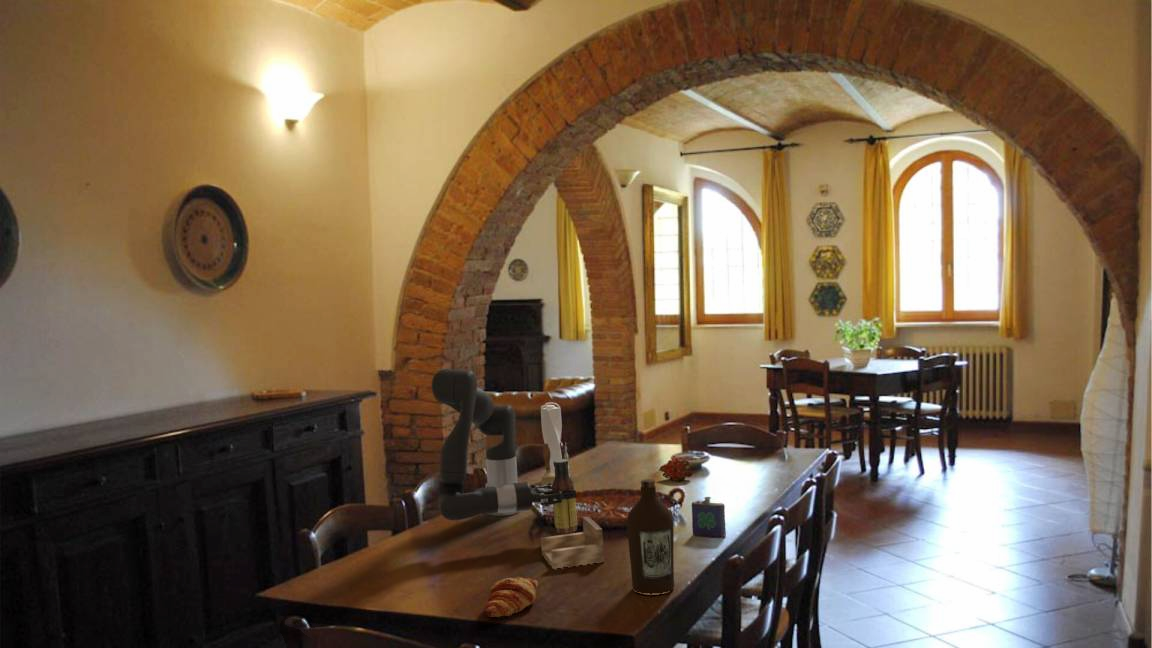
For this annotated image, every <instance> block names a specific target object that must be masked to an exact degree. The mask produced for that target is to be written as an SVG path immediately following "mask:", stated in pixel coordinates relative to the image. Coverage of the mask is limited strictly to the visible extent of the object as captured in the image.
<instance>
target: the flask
mask: <svg viewBox="0 0 1152 648" xmlns="http://www.w3.org/2000/svg"><path fill="white" fill-rule="evenodd" d="M711 498H712V497H711V496H705V497H704V500H699V499H698V500H697V501H693V502H691V514H692V515H691V520H692V521H691V523H692V525H691V526H692V528H691V529H692V536H694V537H699V538H700V537H701V538H711V539H712V538H714V539H715V538H716V539H724V538H726V537H727V536H726V535H727V531H726V515H725V510H726V508H725V507H726V506H725V504H724V503H723V502H722V503H721V502H719V503H718V502H717V503H715V502H711V501H710V499H711Z"/></svg>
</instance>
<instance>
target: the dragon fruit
mask: <svg viewBox="0 0 1152 648" xmlns="http://www.w3.org/2000/svg"><path fill="white" fill-rule="evenodd" d="M658 471H659V472H662V477H664V478H665V479H668V480H671V481H673V482H676V481H677V482H678V480H679V481H681V482H684V481H686V478H691V477H692V476H693V473H692V472H693V471H694V467H693V466H692V464H691V463H690V461H689V460H686V459H685V458H683V457H682V456H679V458H677V457H671V458H670V459H669V460H668V461H667V463H664V464H662V465H661V466H660V467H659V469H658Z"/></svg>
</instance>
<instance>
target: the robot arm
mask: <svg viewBox="0 0 1152 648" xmlns="http://www.w3.org/2000/svg"><path fill="white" fill-rule="evenodd" d="M431 390H432V394H433V397H434V399H435V400H436V401H437V402H438V403H439V404H443V405H445V406H448V407H450V408H451V409H453V410H455V411H456V412H458V413H459V416H458V420H457V421H456V423H455V425H454V427H453V429H452V430H451V431H450V433H449V434H448V436H447V438H446V439H445V441H444V442H443V444H442V447H441V451H440V461H439V462H440V463H439V466H440V467H439V483H438V489H437V490H438V491H437V507H438V510H439V512H440V514H441V515H442V517H443V518H444V519H446V520H448V521H461V520H465V519H469V518H473V517H476V516H480V515H491V516H497V517H499V516H500V517H502V516H506V517H507V516H512V515H516V514H518V513H519V512H522V511H523V512H524V511H530V510H532V508H533V503H538V504H540V506H548V505H553V504H555V503H561V502H562V500H563V499H572V498H575V499H576V498H577V491H576V490H575V489H574V490H566V491H554V489H552V483H548V484H541V483H540V484H539V483H537V484H531V483H529V482H527V481H523V482H522V481H521V482H518V480H519V479H518V466H517V450H516V449H517V441H516V440H517V438H516V436H517V435H516V413H515V412H516V411H515V409H514V407H513V406H512V405H509V404H501V405H500V404H498V405H497V404H496V405H495V404H494V401H493V398H492V397H491V395H490V394H489V393H487V392H486V391H485V390H483V389H482V388H481V387H478V380H477V376H476V374H475V372H473V370H468V369H457V368H456V369H454V368H453V369H452V368H444V369H443V368H442V369H440V370H438V371H437V372H435V374H434V375H433V377H432V380H431ZM472 424H474V425H475V427H477V429H478V430H479V431H480V433H482V434H483V435H485V436H493V437H494V436H496V437H498V436H502V441H500V442H499V443H497V444H495V445H492V446H489V447H488V448H487V449H486V450H485V458H486V459H485V460H486V474H487V476H486V477H487V482H486V483H485V487H479V488H477V489H475V490H474V491H471V492H465V493H464V487H465V486H464V485H465V484H464V483H465V480H466V477H467V469H468V468H467V463H468V448H469V439H470V435H471V434H470V433H471V429H472ZM530 484H531V485H530ZM554 496H557V498H555V497H554Z"/></svg>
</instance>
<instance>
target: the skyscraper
mask: <svg viewBox="0 0 1152 648" xmlns="http://www.w3.org/2000/svg"><path fill="white" fill-rule="evenodd" d="M555 405H556V406H555ZM540 418H541V419H540V421H541V422H540V424H541V432H542V438H543V444H546V443H547V444H548V446H549V448H550V453H551V456H550V470H551V473H553V474H555V467H554V461H555V460H557V459H567V460H568V473H569V476H570V478H571V474H570V466H569V465H570V464H569V454H568V451H567V450H568V447H567V442H564V454H563V457H562V450H561V440H562V431H563V430H562V429H563V428H562V427H563V425H562V423H563V422H562V411H561V406H560V405H559V404H558V403H556V402H553V401H550V402H546V403H545V404H544V405H541V406H540ZM544 470H545V469H544ZM544 472H545V473H546V470H545V471H544ZM545 473H544V474H545Z"/></svg>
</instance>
